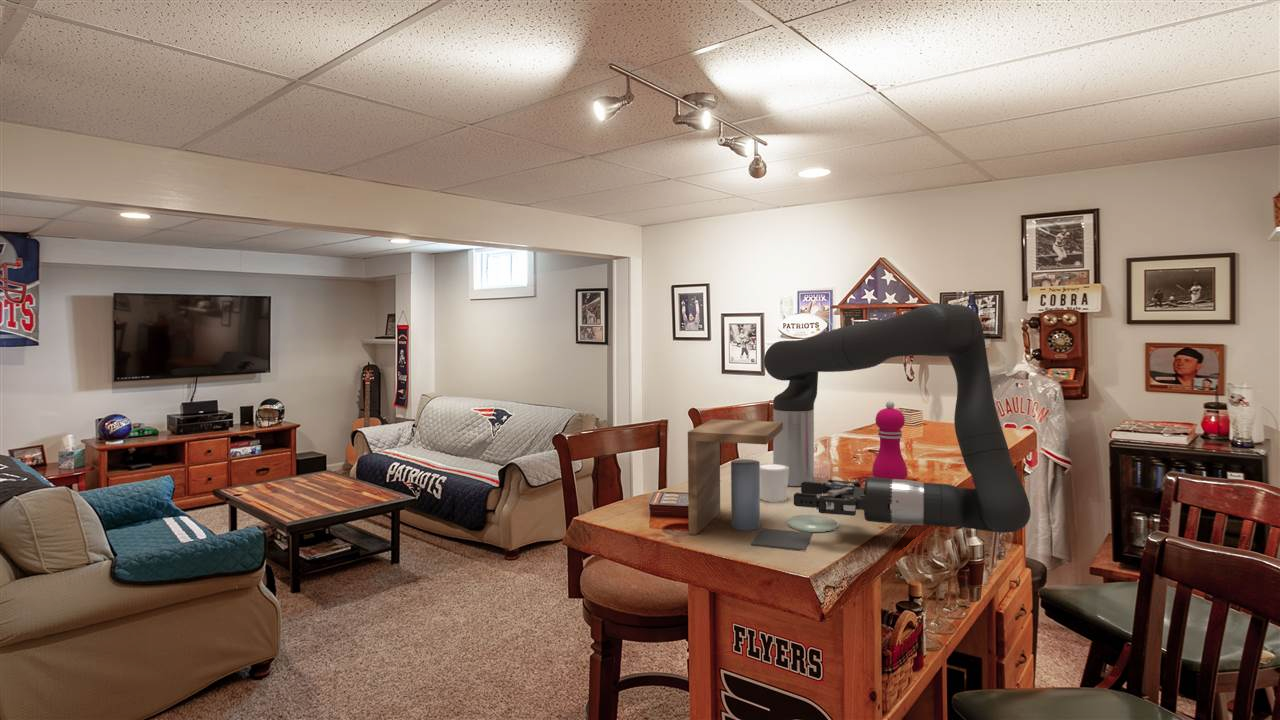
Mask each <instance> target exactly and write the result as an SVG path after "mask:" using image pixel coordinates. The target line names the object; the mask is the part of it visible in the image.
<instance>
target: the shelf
mask: <svg viewBox="0 0 1280 720" xmlns="http://www.w3.org/2000/svg"><path fill="white" fill-rule="evenodd" d="M782 430H783V422H774V421H763V420H744V419H743V420H738V419H735V420H734V419H714V418H711V419H710V420H708V421H706V422H704V423H702V424H700V425H698V426H696V427H695V428H692V429H691V430H688V431H687V485H688V487H687V488H688V489H687V492H688V494H687V495H688V497H687V499H688V501H687V503H688V504H687V505H688V508H687V509H688V535H691V536H692V535H693V536H697V535H699V533H700V532H701V531H703V529H704V528H705V527H706V526H707V525H709V524H710V522H711V521H712V520H713V519H715V517H716V516H717V515H718V514H720V512H721V447H720V446H721V443H729V444H730V443H733V444H746V445H747V444H750V445H751V444H752V445H765V446H766V445H768V444H769V443H770V442H772V440H774V437H775V436H777V435H778V434H779V433H780V432H781V431H782Z"/></svg>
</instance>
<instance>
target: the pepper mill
mask: <svg viewBox="0 0 1280 720" xmlns="http://www.w3.org/2000/svg"><path fill="white" fill-rule="evenodd" d="M885 407H886V408H883V409H880V410H879V411H878V412H877V413H876V416H875V424H876V426H877V428H878V430H877V433H878V434H877V437H879V449H878V453H877V455H876V457H875V459H874V462H873V465H872V471H871V473H872V475H873V477H874V478H888V479H902V480H906V478H907V477H908V467H907V464H906V462H905V460H904V457H903V455H902V451H901V443H900V442H901V438H903V435H902V434H903V431H902V428H903V427H904V426H905V424H906V423H905V422H906V421H905V415H904V414H903V412H902V411H901V410H899V409H897V408H895V403H894V401H890V400H888V401H887V402H886V403H885Z"/></svg>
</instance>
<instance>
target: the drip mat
mask: <svg viewBox="0 0 1280 720" xmlns="http://www.w3.org/2000/svg"><path fill="white" fill-rule="evenodd" d="M811 536H813V533H810V532H803V531H798V530H786V529H776V528H765V527H761V528H760V530H759V531H758V533H757V534H756V536H755V537H754V538H753V540H752V541H751V543H750V545H751V546H755V547H765V548H773V549H781V550H782V549H783V550H791V549H792V550H791V551H799V550H805V549H806V550H807V548H808V546H809V543H810V541H809V540H811V539H812V537H811ZM810 538H811V539H810ZM808 542H809V543H808ZM807 545H808V546H807ZM806 547H807V548H806ZM806 550H805V551H806Z"/></svg>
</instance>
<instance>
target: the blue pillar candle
mask: <svg viewBox="0 0 1280 720" xmlns="http://www.w3.org/2000/svg"><path fill="white" fill-rule="evenodd" d="M760 465H761V463H760V461H758V460H755V459H749V458H748V459H745V458H744V459H742V458H741V459H735V460H731V461H730V484H731V485H730V488H731V489H730V492H731V493H730V495H731V496H730V497H731V498H730V499H731V501H730V502H731V507H730V508H731V510H730V512H731V521H730V522H731V528H733V529H735V530H738V531H743V532H744V531H746V532H747V531H757V530H759V529H761V528H760V527H761V504H760V503H761V500H760Z"/></svg>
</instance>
